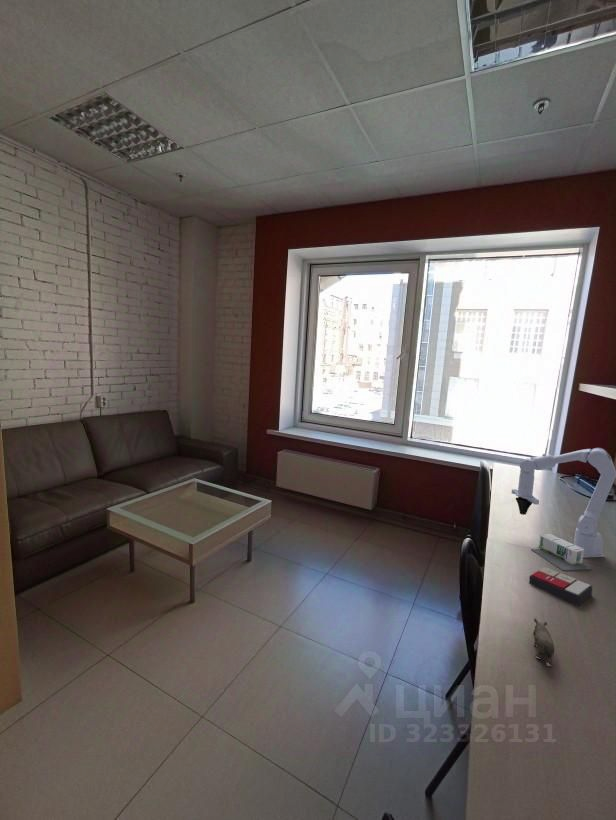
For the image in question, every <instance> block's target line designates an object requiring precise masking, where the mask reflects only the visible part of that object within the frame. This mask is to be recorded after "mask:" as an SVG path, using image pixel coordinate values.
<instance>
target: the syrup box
mask: <svg viewBox="0 0 616 820" xmlns="http://www.w3.org/2000/svg"><path fill="white" fill-rule="evenodd" d="M538 549H542V550H544V551H546V552H548V553H550V554H552V555H554V556H556V557H558V558H560V559H562V560H564V561H566V562H568V563H570V564H572V565H576V564H581V563H583V562H584V561H583V560H584V557H583V554H584V549H583V548H581V547H578V546H576V545H574V543H571V542H568V541H567V540H565V539H562V538H559V537H558V536H556V535H553V534H551V533H545V534H540V535H539V544H538ZM583 564H584V563H583Z"/></svg>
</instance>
